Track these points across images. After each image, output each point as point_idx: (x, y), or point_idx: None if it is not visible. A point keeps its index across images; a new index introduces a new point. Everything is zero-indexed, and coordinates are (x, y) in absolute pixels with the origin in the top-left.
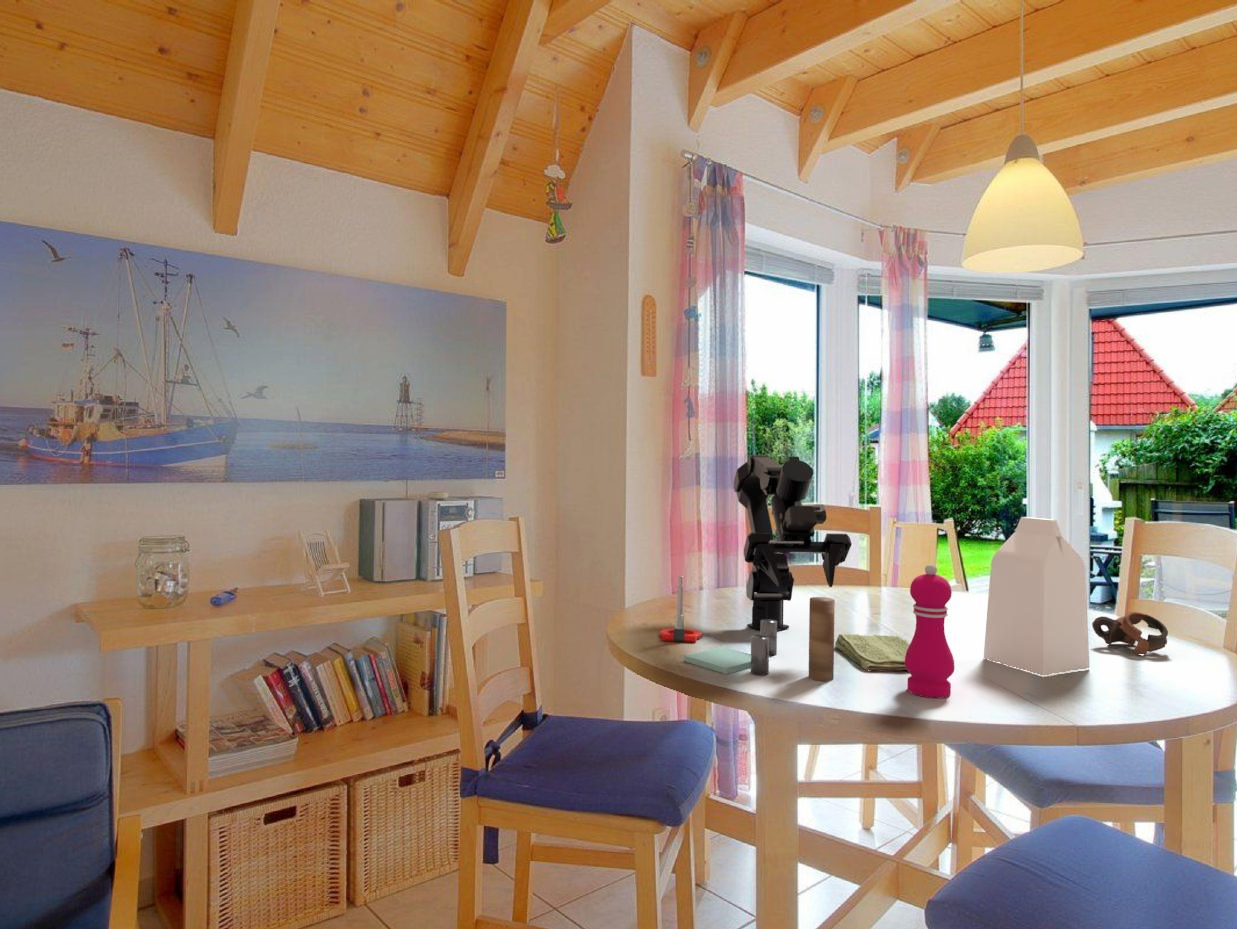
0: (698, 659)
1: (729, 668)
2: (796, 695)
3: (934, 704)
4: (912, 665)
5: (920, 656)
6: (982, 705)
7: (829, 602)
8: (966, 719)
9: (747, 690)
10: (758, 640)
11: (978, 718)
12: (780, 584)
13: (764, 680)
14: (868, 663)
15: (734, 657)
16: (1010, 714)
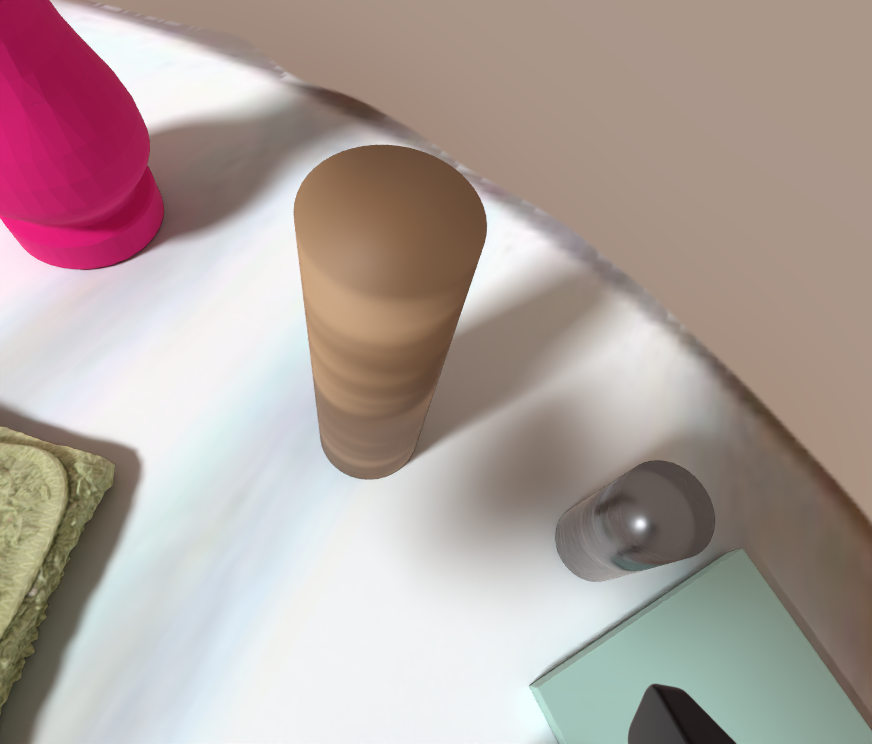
0: (860, 719)
1: (725, 557)
2: (539, 291)
3: (177, 141)
4: (144, 131)
5: (116, 77)
6: None
7: (381, 150)
8: (190, 58)
9: (677, 364)
10: (681, 469)
11: (153, 54)
12: (651, 691)
13: (597, 447)
14: (87, 463)
15: None
16: None
